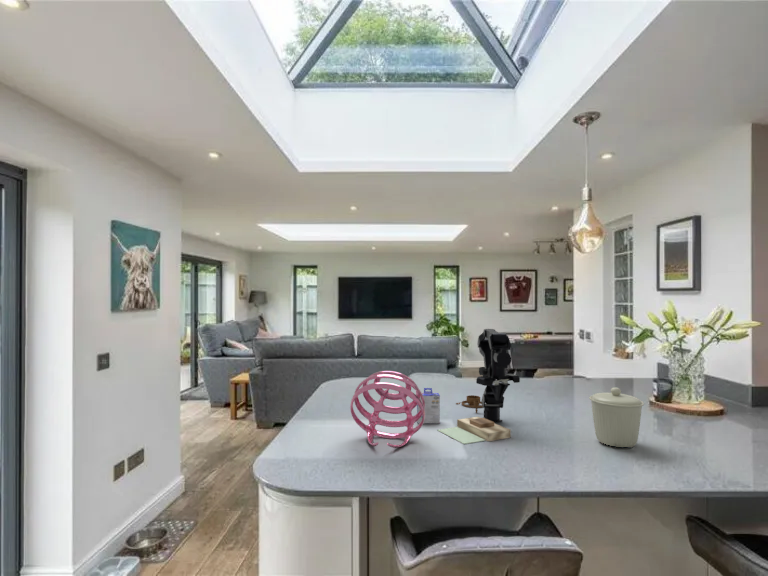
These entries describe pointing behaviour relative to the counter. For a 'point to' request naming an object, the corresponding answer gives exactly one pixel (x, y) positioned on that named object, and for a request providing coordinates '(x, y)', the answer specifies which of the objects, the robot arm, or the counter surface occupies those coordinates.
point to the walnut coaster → (481, 422)
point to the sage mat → (461, 435)
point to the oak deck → (484, 430)
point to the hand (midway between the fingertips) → (498, 400)
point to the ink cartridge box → (430, 407)
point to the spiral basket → (381, 407)
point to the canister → (616, 418)
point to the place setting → (472, 402)
